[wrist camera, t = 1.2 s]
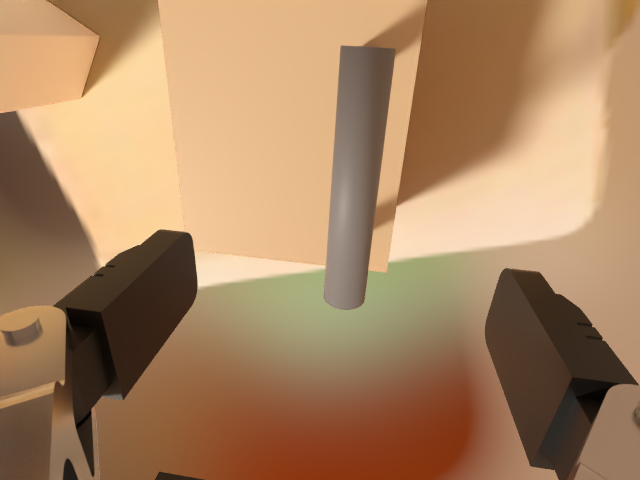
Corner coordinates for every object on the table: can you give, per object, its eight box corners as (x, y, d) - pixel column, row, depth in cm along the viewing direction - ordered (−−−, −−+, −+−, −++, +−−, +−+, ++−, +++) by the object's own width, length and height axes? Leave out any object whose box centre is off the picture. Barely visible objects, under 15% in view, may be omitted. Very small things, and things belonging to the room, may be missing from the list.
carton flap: (161, -19, 21) (35, -55, 13) (427, -7, 19) (458, -40, 12) (190, 246, 28) (120, 320, 20) (386, 268, 27) (389, 357, 19)
